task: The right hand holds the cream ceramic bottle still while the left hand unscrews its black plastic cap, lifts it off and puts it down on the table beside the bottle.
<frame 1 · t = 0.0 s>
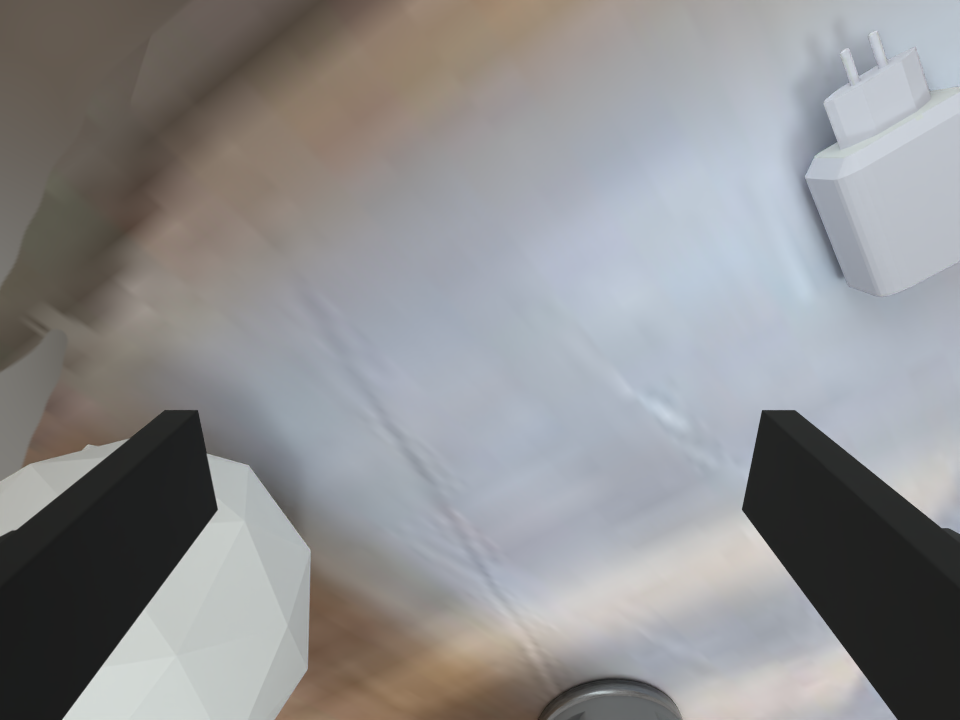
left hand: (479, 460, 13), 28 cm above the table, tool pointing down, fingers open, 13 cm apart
decorative sphere: (206, 513, 47), on the table
charger: (868, 155, 37), on the table
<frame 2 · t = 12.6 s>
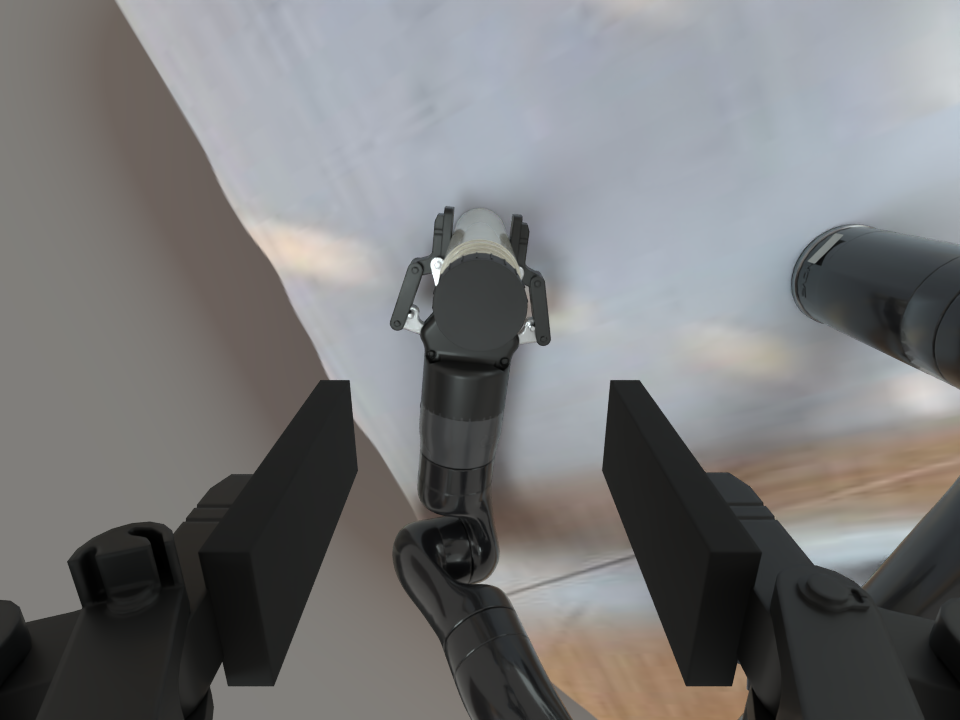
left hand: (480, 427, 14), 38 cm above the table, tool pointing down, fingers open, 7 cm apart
right hand: (483, 212, 43), fingers closed on bottle, 4 cm apart
bottle: (479, 234, 50), on the table, touching right hand
cap: (480, 305, 26), point 25 cm above the table, screwed on, not yet turned
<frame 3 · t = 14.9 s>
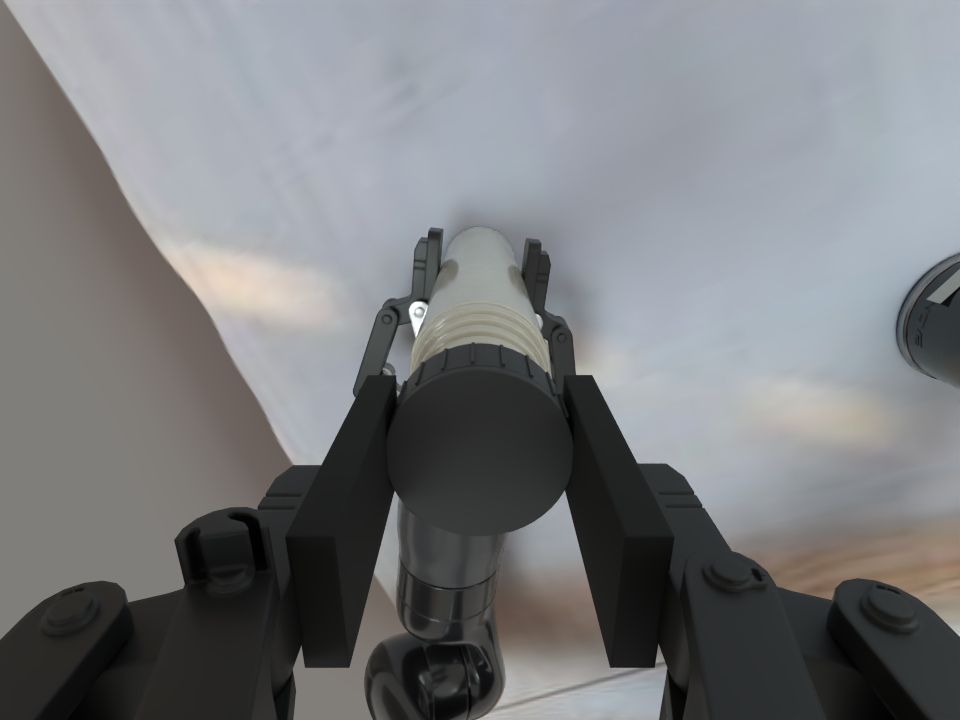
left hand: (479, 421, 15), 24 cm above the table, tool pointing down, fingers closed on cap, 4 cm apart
bottle: (479, 262, 37), on the table, touching right hand
cap: (479, 452, 13), point 25 cm above the table, screwed on, not yet turned, touching left hand
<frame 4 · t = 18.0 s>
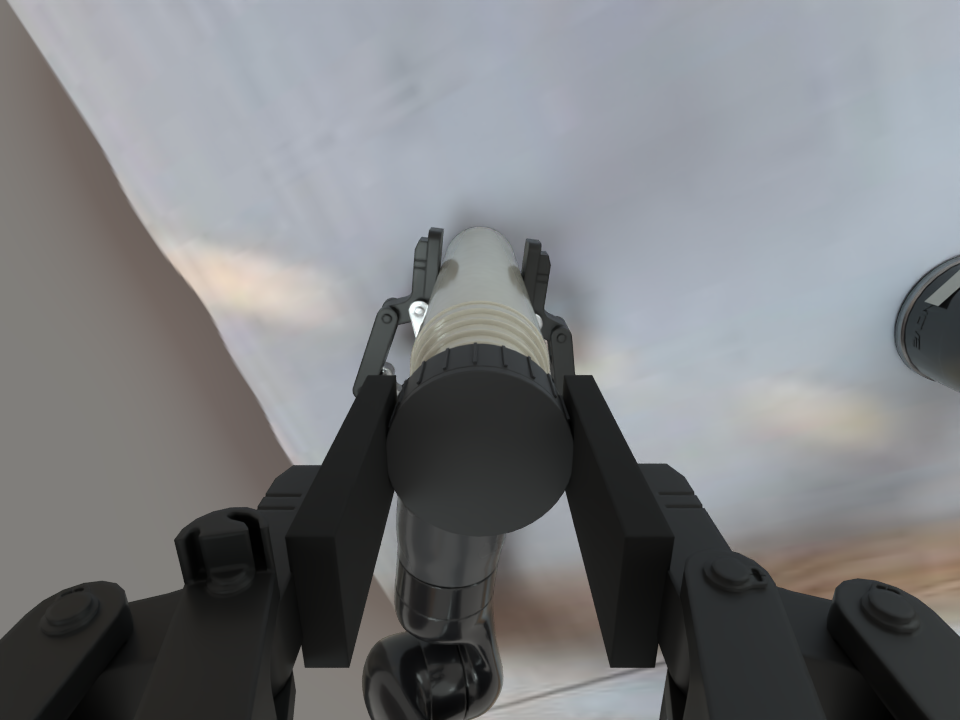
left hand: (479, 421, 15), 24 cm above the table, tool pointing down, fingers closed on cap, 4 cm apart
bottle: (479, 262, 37), on the table, touching right hand
cap: (479, 452, 13), point 25 cm above the table, turned 89° so far, risen 0.1 cm, still on its thread, touching left hand
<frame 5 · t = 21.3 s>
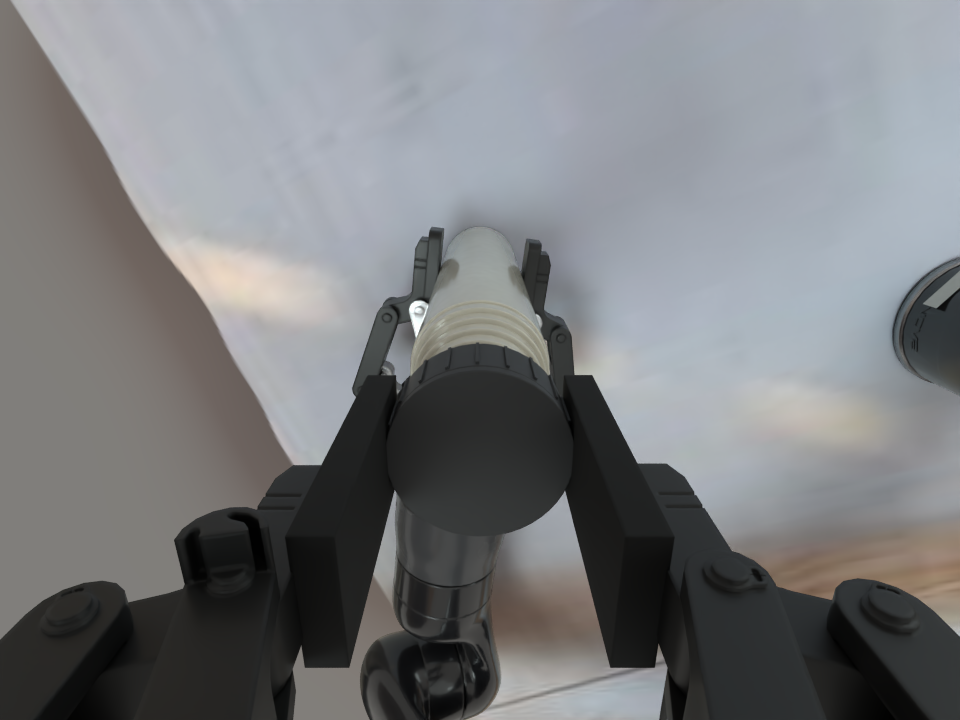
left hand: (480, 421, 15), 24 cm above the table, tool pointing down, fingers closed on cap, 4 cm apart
bottle: (479, 262, 37), on the table, touching right hand
cap: (480, 452, 13), point 26 cm above the table, turned 178° so far, risen 0.1 cm, still on its thread, touching left hand
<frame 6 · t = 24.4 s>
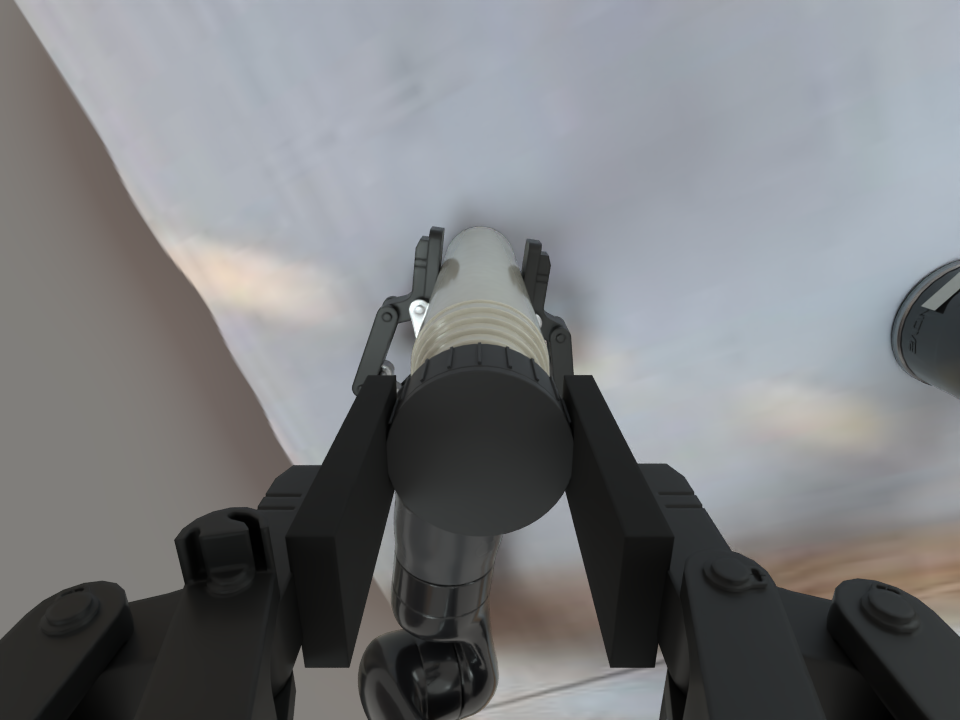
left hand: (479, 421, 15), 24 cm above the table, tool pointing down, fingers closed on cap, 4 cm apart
bottle: (479, 261, 37), on the table, touching right hand
cap: (480, 452, 13), point 26 cm above the table, turned 267° so far, risen 0.2 cm, still on its thread, touching left hand
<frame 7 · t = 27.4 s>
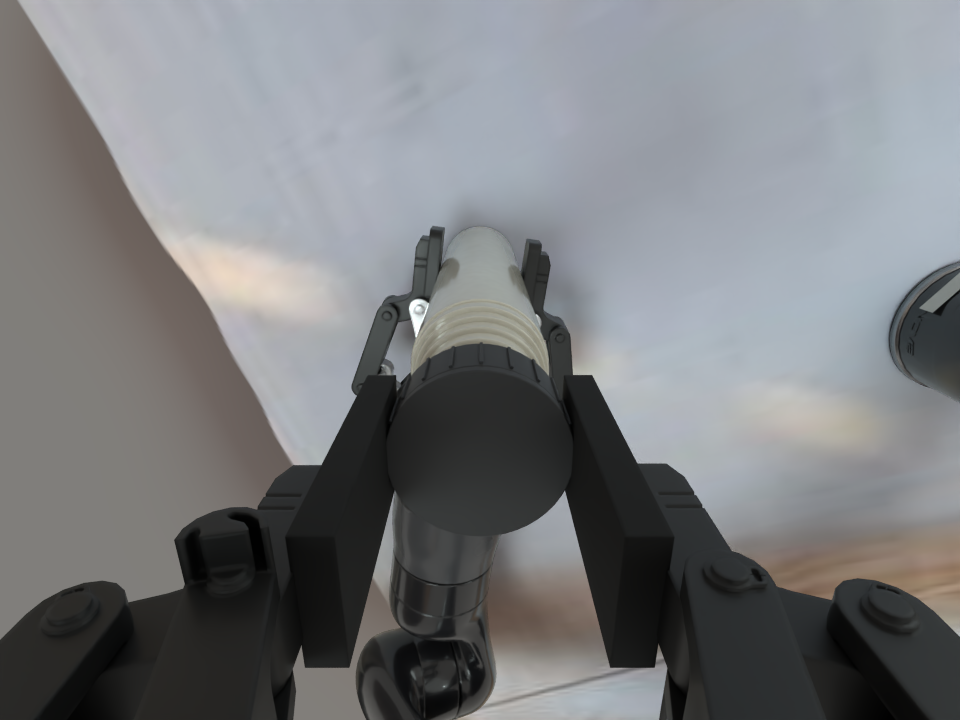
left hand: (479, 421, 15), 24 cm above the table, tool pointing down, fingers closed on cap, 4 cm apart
bottle: (479, 261, 37), on the table, touching right hand
cap: (479, 452, 13), point 26 cm above the table, turned 356° so far, risen 0.3 cm, still on its thread, touching left hand
when the left hand's fingers open (1 cm above the table, at t = 35.2 s): cap drops 1 cm, point 2 cm above the table.
when the right hand's fingers open (7 cm above the table, at t = 36.4 s): bottle stays where it is, on the table.
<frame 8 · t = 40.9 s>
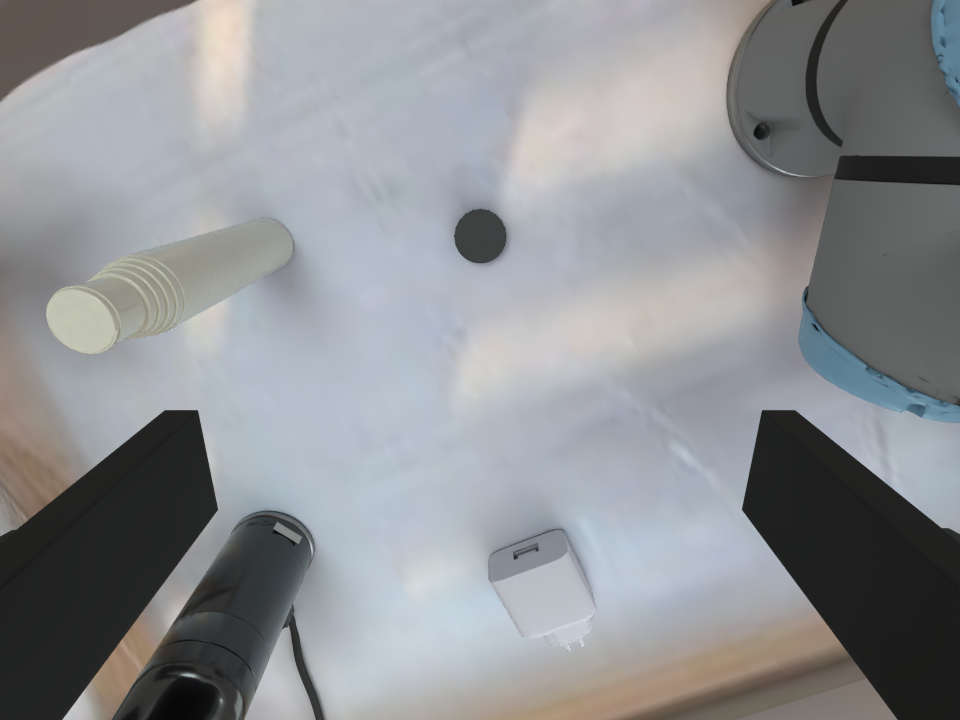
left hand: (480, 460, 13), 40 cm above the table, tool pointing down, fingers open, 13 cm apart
charger: (549, 586, 64), on the table
bottle: (268, 244, 50), on the table
cap: (480, 237, 49), point 2 cm above the table, off its thread
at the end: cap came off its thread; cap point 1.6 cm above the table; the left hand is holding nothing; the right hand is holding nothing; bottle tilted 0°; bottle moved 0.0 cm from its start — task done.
